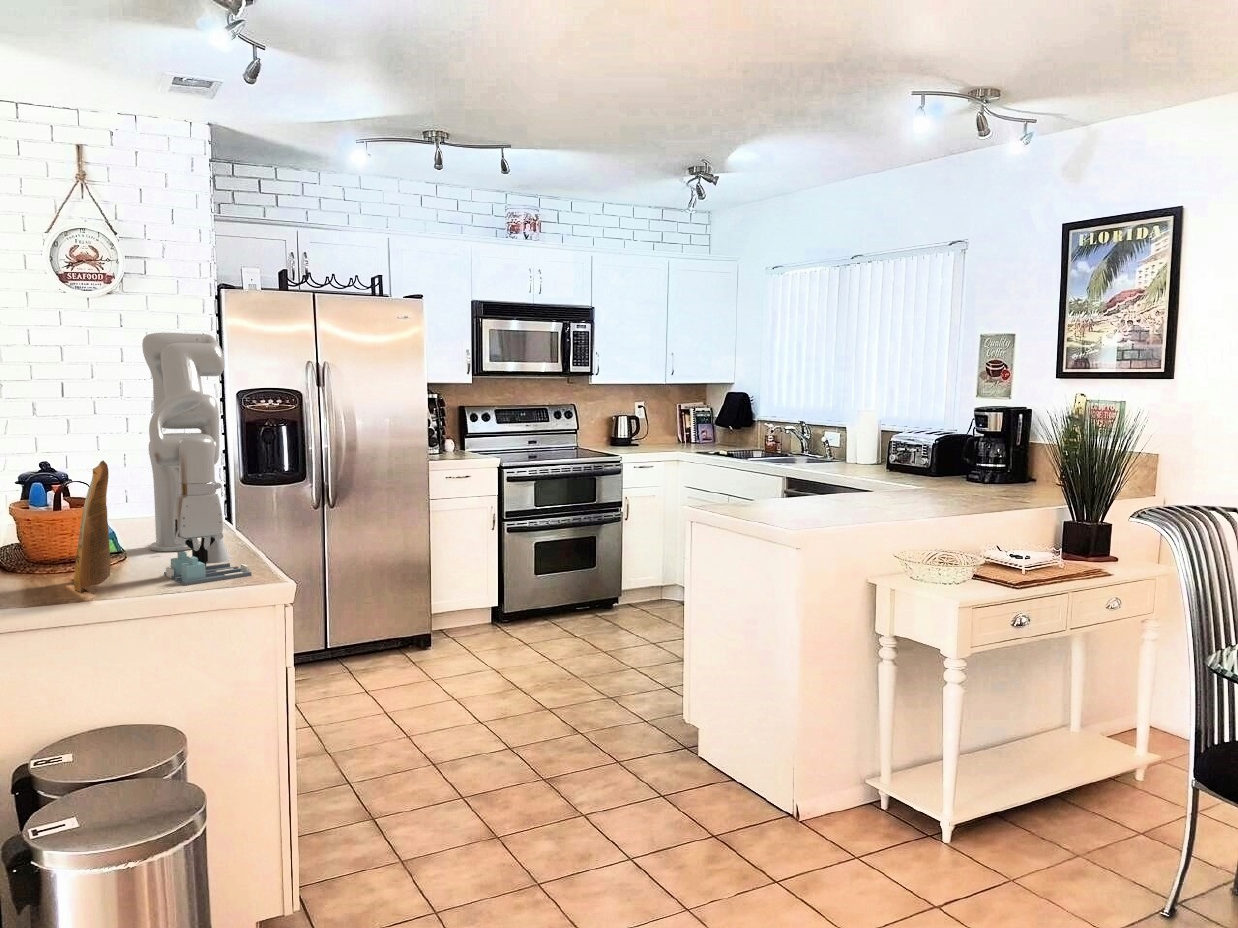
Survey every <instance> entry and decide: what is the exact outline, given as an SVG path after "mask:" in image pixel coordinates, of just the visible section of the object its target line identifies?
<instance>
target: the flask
mask: <svg viewBox="0 0 1238 928" xmlns="http://www.w3.org/2000/svg"><path fill="white" fill-rule="evenodd" d="M231 559H232V558H231V555H230V553H229V551H228V549H227V546H226V544H225V541H224V537H223V538H222V539H220V540H217V541H214V542H213V543H212V545H211V546H210V548H209V549H208V562H206V564H214V563H215V564H218V563H219V564H221V563H226V562H229V561H230V560H231Z"/></svg>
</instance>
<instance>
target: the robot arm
mask: <svg viewBox="0 0 1238 928" xmlns="http://www.w3.org/2000/svg"><path fill="white" fill-rule="evenodd" d="M141 345H142V353H143V356H144V360H145V363H146V365H147V367H148V368H149V371H150V375H151V377H152V391H153V392H152V393H153V394H152V396H153V397H152V398H153V413H152V415H151V418H150V422H149V424H148V425H149V426H148V433H149V443H148V454H149V459H150V460H149V461H150V465H151V472H152V477H153V478H152V479H153V497H154V499H153V500H154V501H153V502H154V522H155V542H152V543H150V544H149V549H150V550H152V551H155V552H181V551H186V550H187V551H188V550H191V555H192V556H191V557H193V556H194V557H197V558H198V562H202V563H204V564H205V566H207V563H206V562H208V549H209V548H210V546H211V545H212V543H213V542H214V541H217V540H220V539H222V538H223V539H224V533H223V531H224V520H223V512H222V511H223V510H222V506H221V501H220V500H221V499H220V497H219V494H218V493H216V492H217V490H218V489H221V488H222V484H221V482H216V479H215V475H216V474H215V471H216V469H215V465H216V464H217V463H218V461H219V458H220V416H219V415H220V414H219V407H218V406H219V405H218V403H217V399H216V398H215V397H213V396H212V395H210V394H205V393H204V392H203V386H202V378H201V377H219V376H220V375H222V374H223V372H224V368H225V357H224V353H223V350H222V348H221V346H220V344H219V343H218V341H217V340H216V338H215V337H214V336H213V335H211V334H207V333H187V332H186V333H185V332H184V333H183V332H153V333H149V334H147V335H145V336H144V337H143V339H142V343H141ZM163 429H167V430H185V429H186V430H187V429H188V430H191V429H193V430H194V429H195V430H196V429H198V430H200V432H188V433H187V432H170V433H163ZM199 538H200V540H199Z"/></svg>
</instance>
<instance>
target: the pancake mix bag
mask: <svg viewBox="0 0 1238 928" xmlns="http://www.w3.org/2000/svg"><path fill="white" fill-rule="evenodd" d="M108 484H109V467H108V464H107V463H106V461H104V460H101V461H100V462H99V464H98V465H97V466H95V467H94V468H92V476H91V481H90V483H89V487H88V491H87V492H86V495H85V499H84V500H85V501H84V503H83V507H82V508H83V509H82V513H81V514H82V515H81V519H80V527H79V534H78V544H77V550H76V557H75V568H74V575H73V586H74V592H75V591H79V592H78V593H80V594H83V593H84V592H87V593H90V591H89V590H87V589H86V588H88V587H89V588H90V587H93V586H96V585H97V586H98V585H100V584H102V583H103V582H104V581H106V580H107V579H108V578H109V577H110V575H111V555H110V554H111V553H110V550H111V549H110V532H109V530H110V529H109V523H108V506H107V492H108Z"/></svg>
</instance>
